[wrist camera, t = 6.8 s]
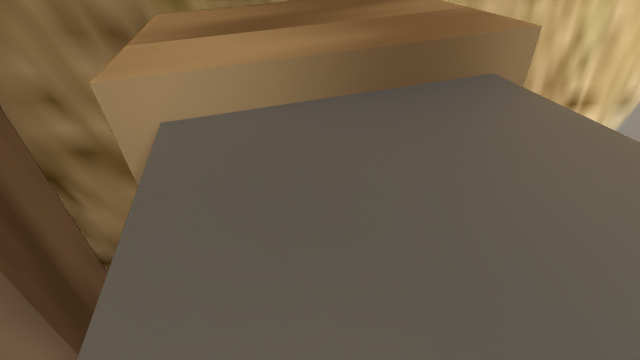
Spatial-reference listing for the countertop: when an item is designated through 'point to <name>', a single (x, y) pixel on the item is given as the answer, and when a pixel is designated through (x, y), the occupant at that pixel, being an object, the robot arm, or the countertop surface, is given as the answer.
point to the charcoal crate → (381, 233)
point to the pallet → (296, 59)
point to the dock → (40, 263)
